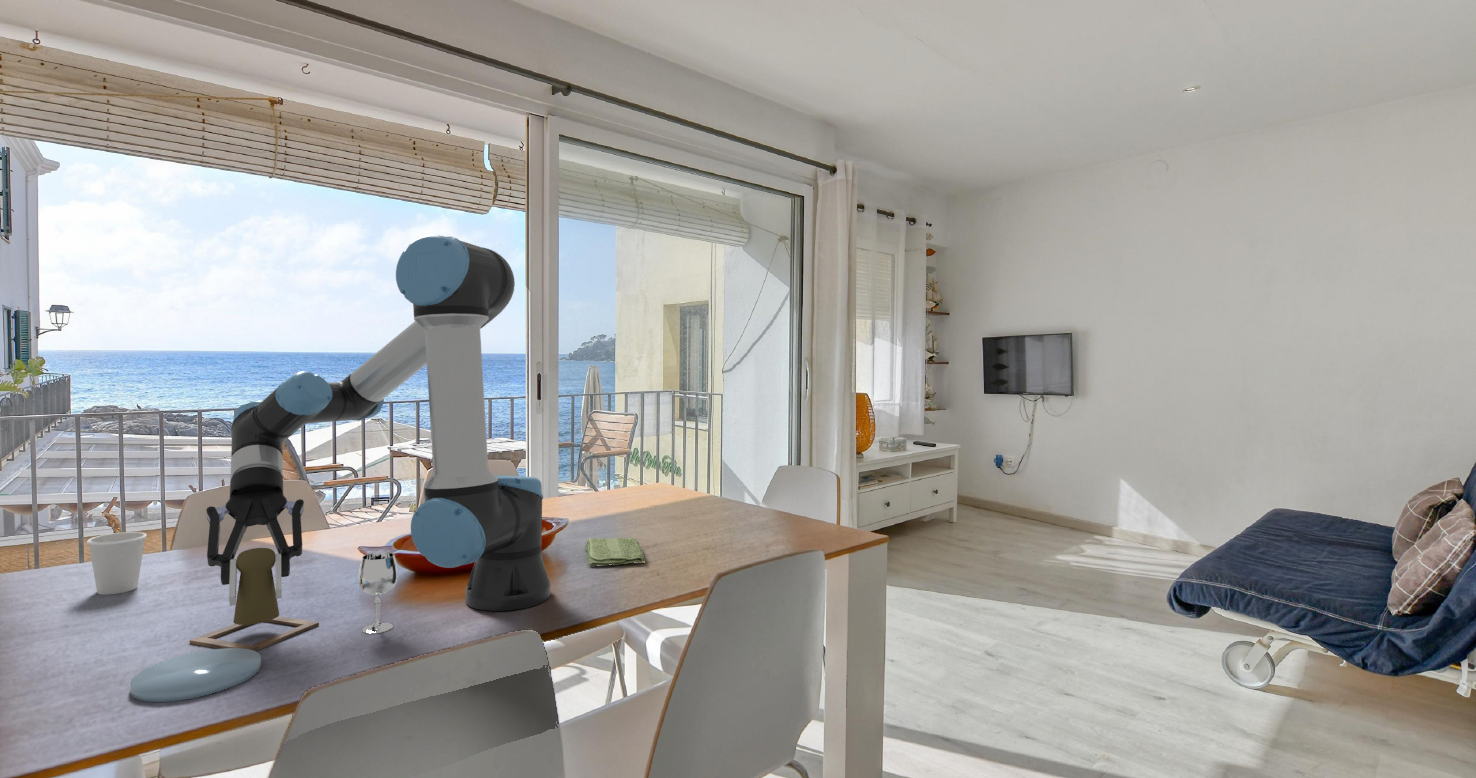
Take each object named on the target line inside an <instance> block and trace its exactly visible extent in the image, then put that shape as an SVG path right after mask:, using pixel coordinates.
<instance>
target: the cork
mask: <svg viewBox="0 0 1476 778" xmlns="http://www.w3.org/2000/svg"><path fill="white" fill-rule="evenodd" d="M275 554H276V553H275V551H274V550H273V549H272V548H269V547H255V548H250V549H246V550H243V551H241V552H239V554H238V555H237V556H236V567H237V571H239V572H240V575H239V580H238V587H237V593H236V605H235V607H234V608H235V609H234V615H233V616H234V617H233V624H238V625H249V626H251V625H250V624H252V625H257V624H261V623H267V622H266V621H269V620H272V619H275V618H277V617H278V616H280V609H279V605H278V604H279V603H278V599H276V584H275V579H274V575H273V569H272V568H273V567H274V566H275V565H276V560H275Z"/></svg>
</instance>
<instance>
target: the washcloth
mask: <svg viewBox="0 0 1476 778" xmlns="http://www.w3.org/2000/svg"><path fill="white" fill-rule="evenodd" d="M584 550H585V551H586V554H587V560H588V562H587V564H588V566H591V567H592V566H597V565H609V564H612V565H613V564H614V566H620V565H619V564H624V565H629V564H628V563H634V562H642V561H645V560H647V558H646V557H645V555H644V551H643V548H642V547H641V545H640V542H639V541H638V540H637V538H634V537H624V538H623V537H621V538H620V537H616V538H605V537H600V538H599V537H596V538H595V537H590V538H588V539H587V540H586V544H585V546H584Z"/></svg>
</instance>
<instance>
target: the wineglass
mask: <svg viewBox="0 0 1476 778" xmlns="http://www.w3.org/2000/svg"><path fill="white" fill-rule="evenodd" d="M398 574H399V570H398V564H397V560H396V555H395V554H394V553H392V552H382V551H381V552H373V553H368V554H364V555H363V556H362V557H361V561H360V564H359V569H358V574H357V582H358V587H359V589H360V591H362V592H363V593H364V594H367V595H371V596H375V598H374V605H375V609H376V613H375V614H376V615H375V616H376V617H375V622H374V623H373V624H370V625H367V626H365V627H363V628H362V633H364V634H368V635H369V634H371V635H372V634H381V633H385V632H388V631H391V630H392V629H393V627H394V625H393V624H391V623H389V622H381V619H380V608H381V604H382V598H381V595H384V594H386V593H388V592H390V591H391V590H393V589H394V588H395V586H396V585H397V582H398V576H399V575H398Z"/></svg>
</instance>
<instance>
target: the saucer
mask: <svg viewBox="0 0 1476 778" xmlns="http://www.w3.org/2000/svg"><path fill="white" fill-rule="evenodd" d="M261 667H262V655H261V654H260V653H259V652H258V651H253V650H249V649H242V648H225V649H219V648H214V649H208V650H201V651H197V652H191V653H188V654H183V655H179V656H175V657H172V658H169V659H166V660H163V661H160V662H158V663H155V664H152V665H150V666H149V667H147V668H145V669H143V670H141V671H140V672H138V673H136V675H134V677H132V679H131V681H130V695H131V697H132V698H134V699H135V700H136V701H137V700H138V701H141V702H146V703H167V702H168V703H169V702H170V703H171V702H179V701H186V699H187V700H191V699H196V698H201V696H202V697H205V696H204V695H206V696H209V694H210V695H213V694H212V693H214V692H217V693H219V692H218V691H220V692H222V691H221V690H223V691H225V690H224V689H226V688H229V689H231V688H233V686H234V687H236V686H238V685H237V684H239V683H241V684H243V683H244V682H243V681H245V682H246V681H248V680H250V679H251V678H252V676H253V677H254V676H255V675H257V674H258V673H259V671H260V670H261ZM257 672H258V673H257ZM256 673H257V674H256ZM242 682H243V683H242ZM235 685H236V686H235ZM239 685H240V684H239ZM230 687H231V688H230ZM226 690H227V689H226ZM214 694H215V693H214Z"/></svg>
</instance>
